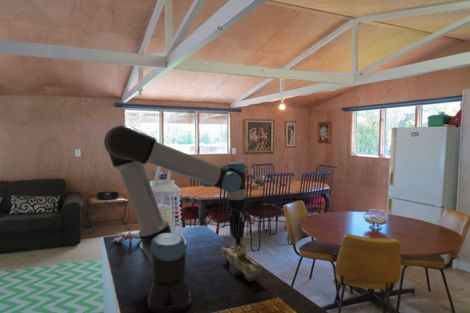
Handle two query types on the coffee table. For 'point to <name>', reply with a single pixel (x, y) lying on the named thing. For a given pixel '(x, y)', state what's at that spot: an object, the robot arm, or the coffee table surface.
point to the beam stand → (241, 264)
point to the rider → (241, 251)
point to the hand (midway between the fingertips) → (237, 251)
